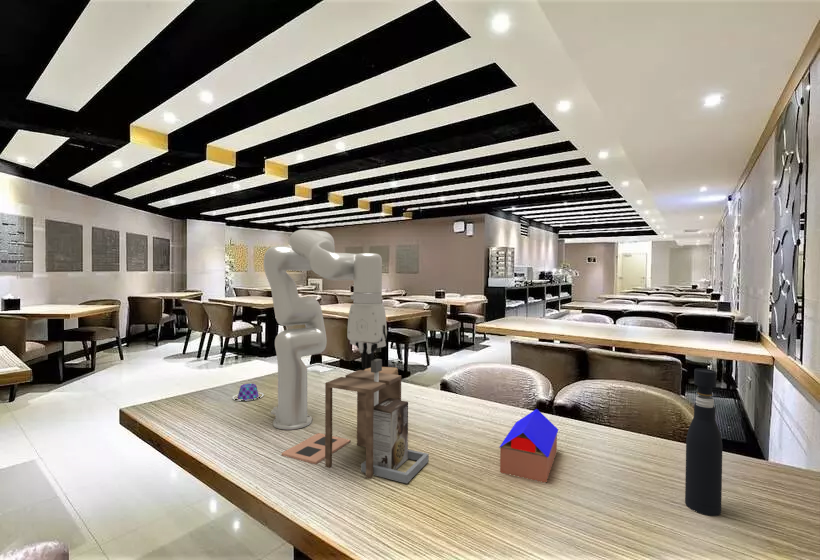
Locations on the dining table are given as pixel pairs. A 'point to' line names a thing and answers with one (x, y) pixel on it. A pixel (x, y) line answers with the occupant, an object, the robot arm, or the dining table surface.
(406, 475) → the cradle
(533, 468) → the house
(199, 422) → the dining table surface
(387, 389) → the brown wooden stand
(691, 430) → the wine bottle
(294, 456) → the board
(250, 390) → the purple checkered hat
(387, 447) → the coffee box
